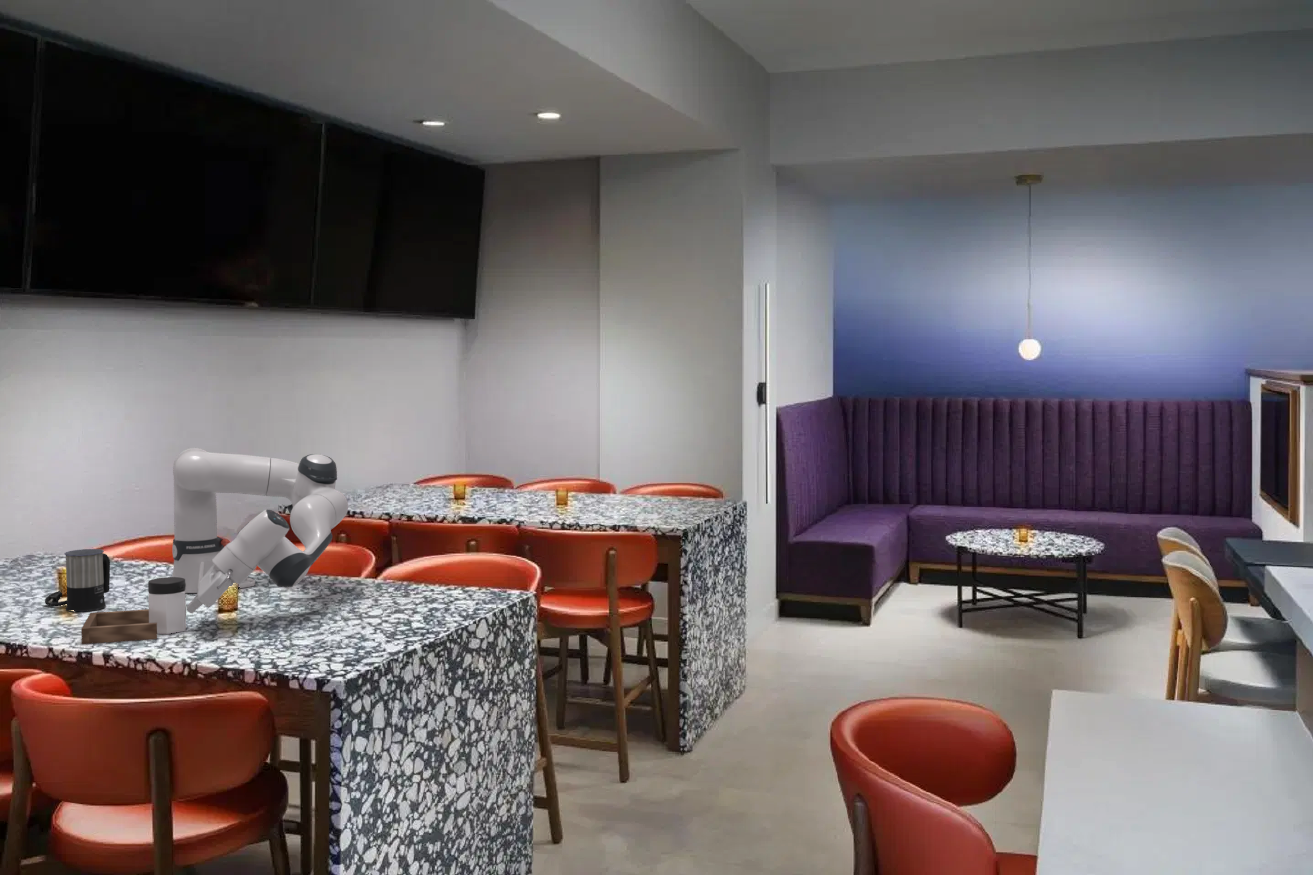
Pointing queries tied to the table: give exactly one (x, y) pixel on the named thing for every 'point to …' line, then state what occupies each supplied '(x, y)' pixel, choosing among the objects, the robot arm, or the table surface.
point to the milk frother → (84, 580)
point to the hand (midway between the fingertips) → (188, 610)
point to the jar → (167, 604)
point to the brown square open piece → (118, 627)
